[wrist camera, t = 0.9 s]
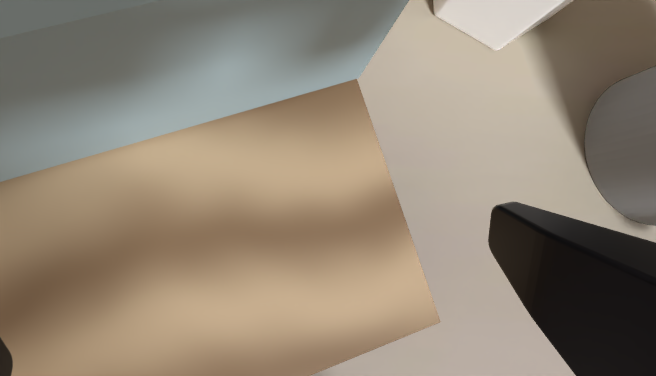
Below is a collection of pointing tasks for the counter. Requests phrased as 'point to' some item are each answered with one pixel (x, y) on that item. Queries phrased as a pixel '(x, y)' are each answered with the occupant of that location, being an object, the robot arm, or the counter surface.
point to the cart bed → (213, 250)
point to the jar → (496, 17)
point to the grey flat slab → (164, 66)
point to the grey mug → (625, 146)
